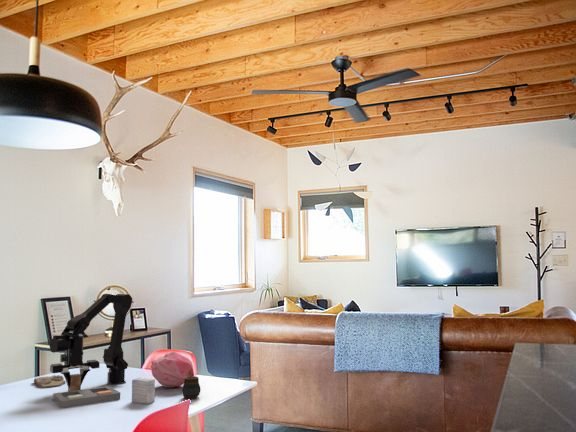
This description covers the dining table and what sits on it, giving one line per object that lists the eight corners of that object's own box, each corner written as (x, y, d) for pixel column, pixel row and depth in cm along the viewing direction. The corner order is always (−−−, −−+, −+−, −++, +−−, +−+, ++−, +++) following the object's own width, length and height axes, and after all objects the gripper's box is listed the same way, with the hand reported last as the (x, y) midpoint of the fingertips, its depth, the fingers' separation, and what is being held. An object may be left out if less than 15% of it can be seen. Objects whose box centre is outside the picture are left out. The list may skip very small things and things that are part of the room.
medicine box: (154, 401, 208) (155, 379, 209) (147, 404, 204) (147, 381, 205) (138, 399, 212) (139, 377, 212) (131, 402, 208) (131, 379, 208)
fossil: (57, 379, 247) (58, 372, 247) (67, 386, 235) (68, 378, 235) (31, 382, 240) (32, 375, 240) (40, 389, 228) (41, 381, 228)
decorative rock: (194, 382, 241) (194, 348, 242) (193, 390, 227) (194, 354, 228) (151, 383, 237) (151, 349, 239) (148, 391, 223) (148, 355, 225)
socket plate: (109, 391, 223) (109, 384, 223) (120, 399, 212) (120, 391, 212) (53, 399, 210) (53, 391, 210) (61, 408, 199) (61, 399, 199)
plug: (77, 390, 225) (78, 373, 226) (80, 392, 222) (81, 375, 223) (67, 391, 223) (68, 374, 223) (70, 393, 220) (71, 376, 220)
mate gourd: (184, 401, 209) (185, 375, 210) (179, 396, 216) (179, 371, 217) (202, 398, 213) (202, 373, 214) (196, 394, 219) (197, 369, 220)
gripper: (92, 344, 236) (91, 380, 235) (47, 348, 225) (46, 386, 224) (100, 348, 227) (99, 385, 226) (53, 352, 216) (52, 391, 215)
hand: (74, 387), depth 223 cm, fingers closed on plug, 4 cm apart
